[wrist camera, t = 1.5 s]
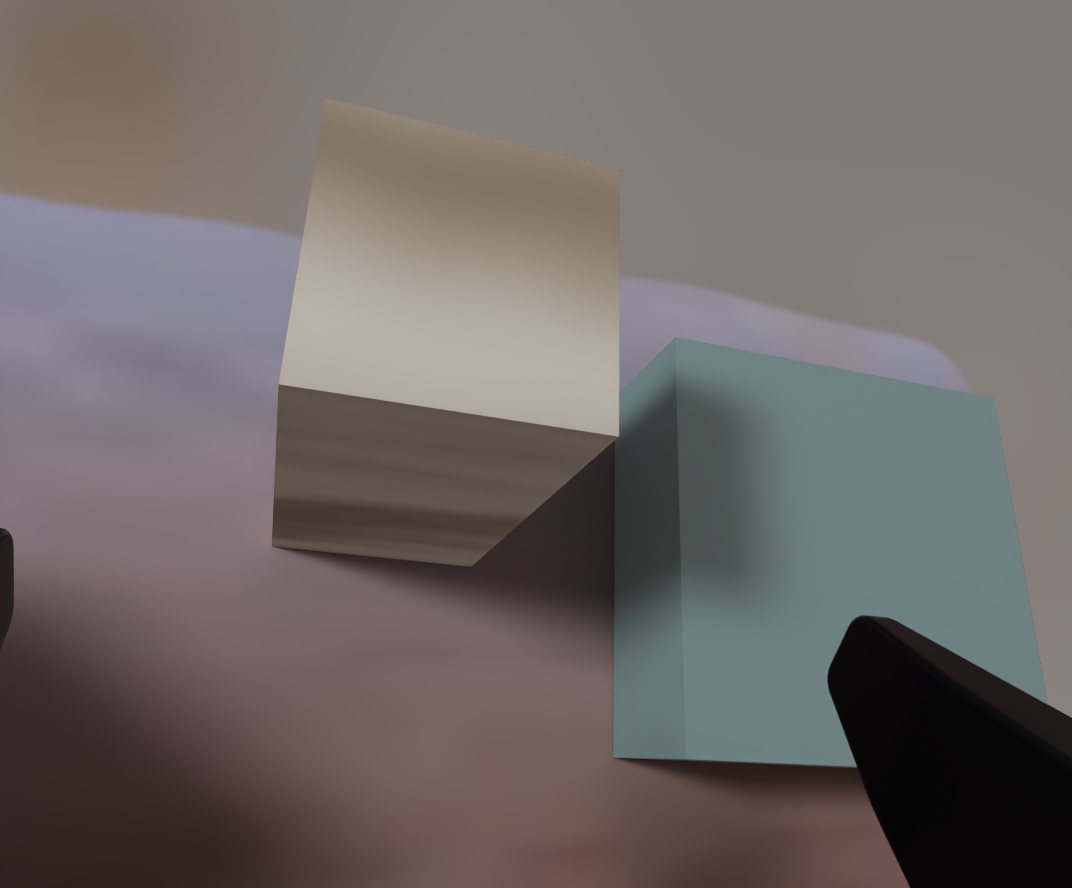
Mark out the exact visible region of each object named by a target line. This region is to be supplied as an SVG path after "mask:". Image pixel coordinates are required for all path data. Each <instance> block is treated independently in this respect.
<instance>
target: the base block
mask: <svg viewBox="0 0 1072 888" xmlns="http://www.w3.org/2000/svg"><path fill="white" fill-rule="evenodd" d="M861 615H869V616H880V617H888V618H891V619H894V620H896V621H898V622H900V623H901V624H903V625H905V626H907V627H909V628H910V629H912V630H914V631H916V632H918V633H919V634H921V635H923V636H925V637H927V638H928V639H930V640H932V641H934V642H936V643H938V644H939V645H941V646H943V647H945V648H947V649H948V650H950V651H952V652H954V653H956V654H957V655H959V656H961V657H963V658H965V659H966V660H968V661H970V662H972V663H974V664H975V665H977V666H979V667H981V668H983V669H985V670H986V671H988V672H990V673H992V674H994V675H995V676H997V677H999V678H1001V679H1003V680H1004V681H1006V682H1008V683H1010V684H1012V685H1013V686H1015V687H1017V688H1019V689H1021V690H1022V691H1024V692H1026V693H1028V694H1030V695H1031V696H1033V697H1035V698H1037V699H1039V700H1041V701H1042V702H1044V703H1046V704H1048V703H1047V697H1046V691H1045V686H1044V681H1043V675H1042V669H1041V663H1040V657H1039V652H1038V646H1037V640H1036V634H1035V629H1034V623H1033V618H1032V612H1031V606H1030V600H1029V595H1028V589H1027V583H1026V577H1025V572H1024V566H1023V561H1022V555H1021V549H1020V544H1019V538H1018V532H1017V526H1016V521H1015V515H1014V509H1013V504H1012V498H1011V492H1010V487H1009V481H1008V475H1007V469H1006V464H1005V458H1004V452H1003V447H1002V441H1001V435H1000V430H999V424H998V418H997V413H996V407H995V401H994V398H989V397H984V396H979V395H974V394H968V393H963V392H958V391H953V390H948V389H942V388H937V387H932V386H927V385H921V384H916V383H911V382H906V381H901V380H895V379H890V378H885V377H880V376H874V375H869V374H864V373H859V372H854V371H848V370H843V369H838V368H833V367H827V366H822V365H817V364H812V363H807V362H801V361H796V360H791V359H786V358H781V357H775V356H770V355H765V354H760V353H754V352H749V351H744V350H739V349H734V348H728V347H723V346H718V345H713V344H707V343H702V342H697V341H692V340H687V339H681V338H676V337H675V338H674V339H673V340H672V341H671V342H670V343H669V344H668V345H667V346H666V347H665V348H664V349H663V350H662V351H661V352H660V353H659V354H658V355H657V356H656V357H655V358H654V359H653V360H652V361H651V362H650V363H649V364H648V365H647V366H646V367H645V368H644V369H643V370H642V371H641V372H640V373H639V374H638V375H637V376H636V377H635V378H634V379H633V380H632V381H631V382H630V383H629V384H628V385H627V386H626V387H625V388H624V389H623V390H622V391H621V392H620V393H619V437H618V438H617V439H616V440H615V510H614V735H613V758H634V759H658V760H681V761H704V762H727V763H750V764H773V765H796V766H819V767H842V768H857V766H856V763H855V760H854V758H853V755H852V752H851V750H850V747H849V744H848V741H847V739H846V736H845V733H844V731H843V728H842V725H841V722H840V720H839V717H838V714H837V712H836V709H835V706H834V703H833V701H832V698H831V695H830V693H829V689H828V684H827V674H828V669H829V667H830V664H831V662H832V660H833V658H834V656H835V654H836V652H837V649H838V647H839V645H840V643H841V641H842V639H843V637H844V635H845V633H846V630H847V628H848V626H849V624H850V623H851V622H852V621H853V620H854V619H855V618H856V617H858V616H861Z"/></svg>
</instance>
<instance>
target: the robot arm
mask: <svg viewBox="0 0 1072 888" xmlns="http://www.w3.org/2000/svg"><path fill="white" fill-rule="evenodd" d="M13 607H14V547H13V540H12V536H11V534H10V533H9V532H8V531H7V530H6V529H3V528H0V649H1V646H2V644H3V642H4V639H5V637H6V634H7V632H8V629H9V626H10V623H11V619H12V614H13ZM827 684H828V689H829V693H830V695H831V698H832V701H833V703H834V706H835V709H836V712H837V714H838V717H839V720H840V722H841V725H842V728H843V731H844V733H845V736H846V739H847V741H848V744H849V747H850V750H851V752H852V755H853V758H854V760H855V763H856V766H857V769H858V771H859V774H860V777H861V779H862V782H863V785H864V787H865V790H866V793H867V795H868V798H869V800H870V803H871V805H872V808H873V810H874V812H875V814H876V817H877V819H878V821H879V823H880V825H881V828H882V830H883V832H884V834H885V836H886V838H887V840H888V842H889V844H890V847H891V849H892V851H893V853H894V855H895V857H896V859H897V861H898V863H899V866H900V868H901V870H902V872H903V874H904V876H905V878H906V880H907V882H908V884H909V887H910V888H1072V718H1071V717H1069V716H1067V715H1066V714H1064V713H1062V712H1060V711H1059V710H1057V709H1055V708H1053V707H1051V706H1050V705H1048V704H1046V703H1044V702H1042V701H1041V700H1039V699H1037V698H1035V697H1033V696H1031V695H1030V694H1028V693H1026V692H1024V691H1022V690H1021V689H1019V688H1017V687H1015V686H1013V685H1012V684H1010V683H1008V682H1006V681H1004V680H1003V679H1001V678H999V677H997V676H995V675H994V674H992V673H990V672H988V671H986V670H985V669H983V668H981V667H979V666H977V665H975V664H974V663H972V662H970V661H968V660H966V659H965V658H963V657H961V656H959V655H957V654H956V653H954V652H952V651H950V650H948V649H947V648H945V647H943V646H941V645H939V644H938V643H936V642H934V641H932V640H930V639H928V638H927V637H925V636H923V635H921V634H919V633H918V632H916V631H914V630H912V629H910V628H909V627H907V626H905V625H903V624H901V623H900V622H898V621H896V620H894V619H891V618H888V617H880V616H869V615H861V616H858V617H856V618H855V619H854V620H853V621H852V622H851V623H850V624H849V626H848V628H847V630H846V633H845V635H844V637H843V639H842V641H841V643H840V645H839V647H838V649H837V652H836V654H835V656H834V658H833V660H832V662H831V664H830V667H829V669H828V674H827Z"/></svg>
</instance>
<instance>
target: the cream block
mask: <svg viewBox="0 0 1072 888" xmlns="http://www.w3.org/2000/svg"><path fill="white" fill-rule="evenodd" d="M619 174H620V170H619V169H616V168H612V167H607V166H603V165H599V164H595V163H591V162H587V161H583V160H579V159H575V158H571V157H567V156H563V155H558V154H555V153H550V152H546V151H542V150H538V149H534V148H530V147H526V146H522V145H518V144H514V143H510V142H506V141H502V140H498V139H494V138H489V137H485V136H481V135H477V134H473V133H469V132H465V131H461V130H457V129H453V128H449V127H445V126H441V125H437V124H432V123H428V122H424V121H420V120H416V119H412V118H408V117H404V116H400V115H396V114H392V113H388V112H384V111H380V110H375V109H371V108H367V107H363V106H359V105H355V104H351V103H347V102H343V101H339V100H335V99H331V98H326V101H325V107H324V113H323V119H322V125H321V132H320V137H319V143H318V150H317V155H316V161H315V168H314V174H313V180H312V186H311V192H310V198H309V204H308V210H307V216H306V222H305V228H304V234H303V240H302V246H301V252H300V258H299V264H298V270H297V276H296V282H295V289H294V295H293V301H292V307H291V313H290V319H289V325H288V331H287V337H286V343H285V349H284V355H283V361H282V367H281V373H280V379H279V388H278V412H277V436H276V460H275V483H274V507H273V531H272V546H274V547H283V548H293V549H303V550H312V551H322V552H332V553H341V554H351V555H361V556H370V557H380V558H390V559H399V560H409V561H418V562H428V563H438V564H447V565H457V566H467V567H471V566H473V565H474V564H475V563H476V562H477V561H478V560H479V559H481V558H482V557H483V556H484V555H485V554H486V553H487V552H489V551H490V550H491V549H492V548H493V547H494V546H495V545H496V544H498V543H499V542H500V541H501V540H502V539H503V538H504V537H506V536H507V535H508V534H509V533H510V532H511V531H512V530H513V529H515V528H516V527H517V526H518V525H519V524H520V523H521V522H523V521H524V520H525V519H526V518H527V517H528V516H529V515H530V514H532V513H533V512H534V511H535V510H536V509H537V508H538V507H540V506H541V505H542V504H543V503H544V502H545V501H546V500H548V499H549V498H550V497H551V496H552V495H553V494H554V493H555V492H557V491H558V490H559V489H560V488H561V487H562V486H563V485H565V484H566V483H567V482H568V481H569V480H570V479H571V478H572V477H574V476H575V475H576V474H577V473H578V472H579V471H580V470H582V469H583V468H584V467H585V466H586V465H587V464H588V463H589V462H591V461H592V460H593V459H594V458H595V457H596V456H597V455H599V454H600V453H601V452H602V451H603V450H604V449H605V448H606V447H608V446H609V445H610V444H611V443H612V442H613V441H614V440H616V439H617V438H618V437H619V203H620V202H619V198H620V197H619V196H620V195H619V194H620V191H619V187H620V185H619V184H620V179H619V178H620V177H619V176H620V175H619Z"/></svg>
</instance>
